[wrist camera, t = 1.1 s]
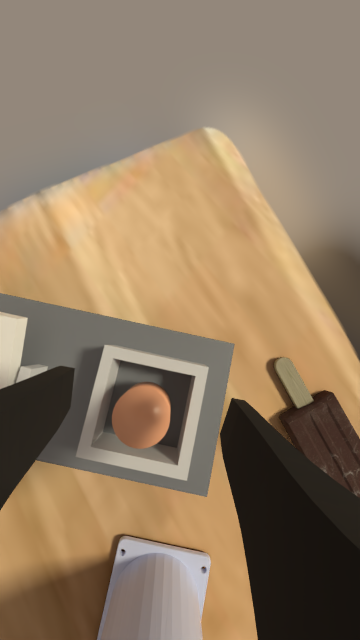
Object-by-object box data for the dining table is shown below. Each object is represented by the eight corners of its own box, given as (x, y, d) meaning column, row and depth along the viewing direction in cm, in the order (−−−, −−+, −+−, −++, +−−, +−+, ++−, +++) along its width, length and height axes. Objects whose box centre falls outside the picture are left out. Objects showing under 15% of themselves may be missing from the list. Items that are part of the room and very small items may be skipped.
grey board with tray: (201, 473, 19) (212, 523, 14) (-56, 418, 19) (-147, 446, 14) (225, 344, 21) (244, 343, 15) (-13, 292, 21) (-80, 273, 15)
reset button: (164, 437, 15) (163, 454, 13) (116, 427, 15) (105, 441, 13) (175, 387, 16) (175, 394, 13) (128, 377, 16) (119, 382, 13)
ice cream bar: (252, 370, 21) (332, 517, 20) (259, 372, 19) (346, 533, 18) (297, 345, 21) (378, 488, 20) (307, 345, 20) (396, 500, 18)
